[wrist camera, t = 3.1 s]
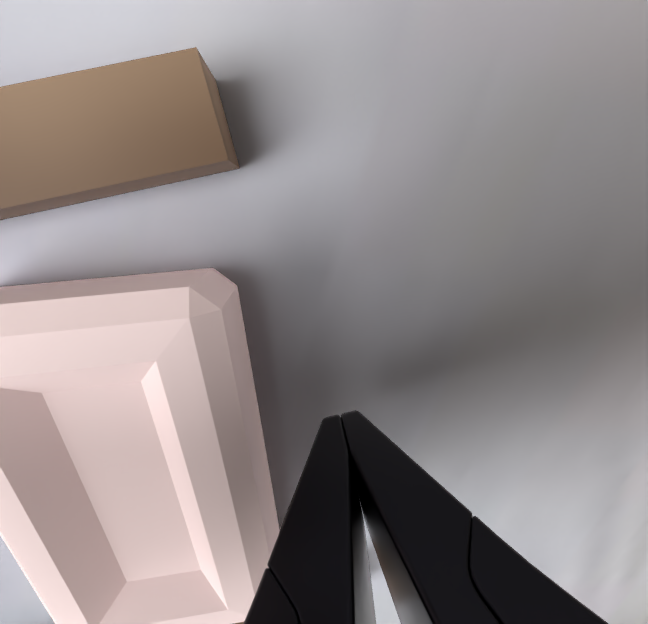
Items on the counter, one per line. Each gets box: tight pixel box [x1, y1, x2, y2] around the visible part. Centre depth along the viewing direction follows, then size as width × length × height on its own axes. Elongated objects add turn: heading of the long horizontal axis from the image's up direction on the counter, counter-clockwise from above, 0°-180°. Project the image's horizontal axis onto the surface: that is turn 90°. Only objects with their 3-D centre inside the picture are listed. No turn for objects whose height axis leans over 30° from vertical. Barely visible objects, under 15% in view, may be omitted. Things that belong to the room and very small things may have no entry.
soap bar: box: [0, 268, 280, 624], centre depth 7 cm, size 5×9×2 cm, turn 4°
